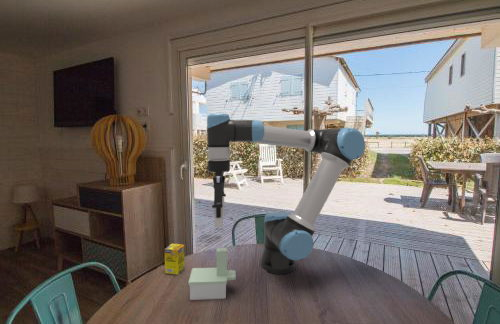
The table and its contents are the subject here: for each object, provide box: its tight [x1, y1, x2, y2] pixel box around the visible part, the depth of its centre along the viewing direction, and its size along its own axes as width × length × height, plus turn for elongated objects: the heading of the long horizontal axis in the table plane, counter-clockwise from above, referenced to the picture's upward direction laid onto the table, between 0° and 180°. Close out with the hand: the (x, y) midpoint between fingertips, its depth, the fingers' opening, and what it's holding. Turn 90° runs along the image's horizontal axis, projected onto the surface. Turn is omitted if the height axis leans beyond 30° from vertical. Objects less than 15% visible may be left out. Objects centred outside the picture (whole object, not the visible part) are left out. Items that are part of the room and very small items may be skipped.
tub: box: [189, 284, 227, 301], centre depth 96 cm, size 12×9×6 cm
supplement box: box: [164, 243, 185, 276], centre depth 111 cm, size 6×6×11 cm
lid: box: [188, 247, 237, 286], centre depth 96 cm, size 16×10×10 cm, turn 94°
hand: (219, 220), depth 95 cm, fingers open, 13 cm apart
